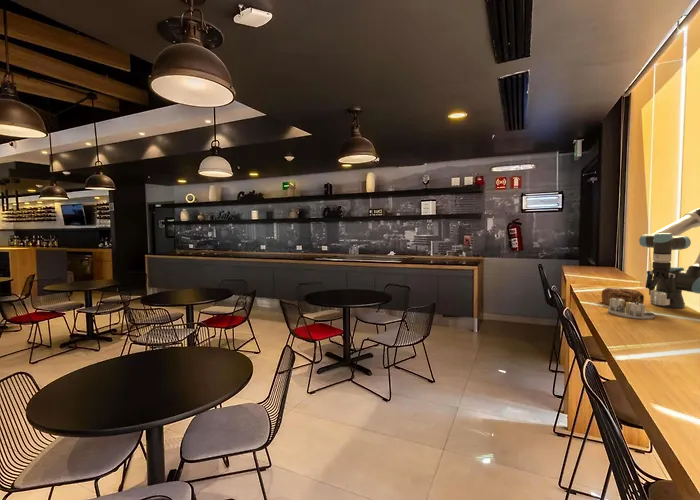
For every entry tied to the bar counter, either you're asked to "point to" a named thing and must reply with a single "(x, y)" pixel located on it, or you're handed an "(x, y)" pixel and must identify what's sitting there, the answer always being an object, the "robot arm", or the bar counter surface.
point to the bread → (622, 295)
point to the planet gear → (657, 298)
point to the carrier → (629, 309)
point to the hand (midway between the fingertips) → (659, 303)
